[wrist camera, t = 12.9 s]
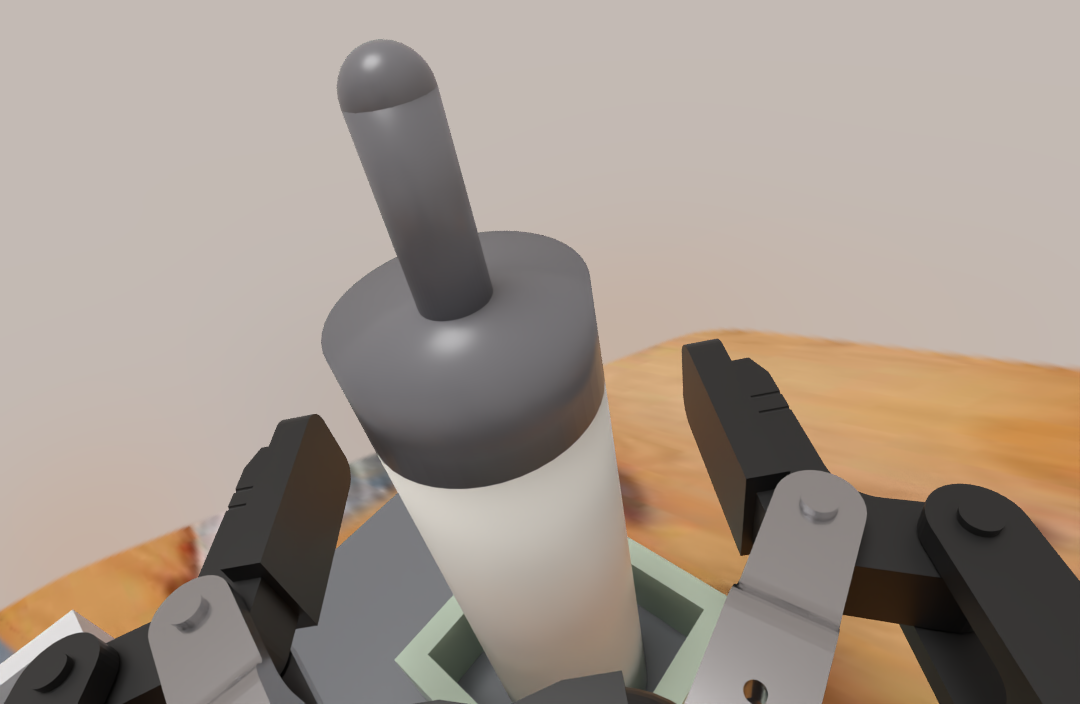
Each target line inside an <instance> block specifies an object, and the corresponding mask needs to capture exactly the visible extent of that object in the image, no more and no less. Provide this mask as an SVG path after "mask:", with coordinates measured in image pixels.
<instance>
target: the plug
mask: <svg viewBox="0 0 1080 704" xmlns="http://www.w3.org/2000/svg"><path fill="white" fill-rule="evenodd" d="M337 94H338V100H339V104H340V107H341V111H342V113H343V116H344V118H345V121H346V124H347V126H348V129H349V132H350V134H351V137H352V139H353V142H354V145H355V147H356V150H357V152H358V155H359V158H360V160H361V163H362V166H363V168H364V171H365V173H366V176H367V179H368V181H369V184H370V186H371V189H372V192H373V194H374V197H375V199H376V202H377V205H378V207H379V210H380V213H381V215H382V218H383V220H384V223H385V226H386V228H387V231H388V233H389V236H390V238H391V241H392V244H393V247H394V249H395V252H396V254H397V257H396V258H394V259H392V260H390V261H388V262H386V263H385V264H383V265H381V266H379V267H378V268H376V269H375V270H373V271H372V272H370V273H369V274H367V275H366V276H364V277H363V278H362V279H361V280H359V281H358V282H357V283H355V284H354V285H353V286H352V287H351V288H350V289H349V290H348V291H347V292H346V293H345V294H344V295H343V296H342V297H341V298H340V299H339V301H338V302H337V303H336V304H335V306H334V307H333V309H332V310H331V312H330V313H329V315H328V318H327V319H326V322H325V324H324V328H323V331H322V340H321V344H322V350H323V354H324V356H325V358H326V361H327V362H328V364H329V366H330V368H331V370H332V372H333V374H334V375H335V377H336V379H337V381H338V383H339V385H340V387H341V388H342V390H343V392H344V394H345V396H346V398H347V399H348V401H349V403H350V405H351V407H352V409H353V410H354V412H355V414H356V416H357V418H358V420H359V422H360V423H361V425H362V427H363V429H364V430H365V433H366V434H367V436H368V438H369V440H370V442H371V444H372V445H373V447H374V449H375V451H376V453H377V455H378V456H379V458H380V460H381V462H382V464H383V466H384V468H385V469H386V471H387V473H388V475H389V477H390V479H391V480H392V482H393V484H394V486H395V488H396V490H397V491H398V493H399V495H400V497H401V499H402V501H403V503H404V504H405V506H406V508H407V510H408V512H409V514H410V515H411V517H412V519H413V521H414V523H415V525H416V526H417V528H418V530H419V532H420V534H421V536H422V537H423V539H424V541H425V543H426V545H427V547H428V549H429V550H430V552H431V554H432V556H433V558H434V560H435V561H436V563H437V565H438V567H439V569H440V571H441V572H442V574H443V576H444V578H445V580H446V582H447V584H448V585H449V587H450V589H451V591H452V593H453V595H454V596H455V598H456V600H457V602H458V604H459V606H460V607H461V609H462V611H463V613H464V615H465V617H466V618H467V620H468V622H469V624H470V626H471V628H472V630H473V631H474V633H475V635H476V637H477V639H478V641H479V642H480V644H481V646H482V648H483V650H484V652H485V653H486V655H487V657H488V659H489V661H490V663H491V665H492V666H493V668H494V670H495V672H496V674H497V676H498V677H499V679H500V681H501V683H502V685H503V687H504V688H505V690H506V692H507V694H508V696H509V698H510V699H511V701H512V703H513V702H516V701H518V700H520V699H522V698H524V697H526V696H528V695H531V694H533V693H535V692H537V691H539V690H541V689H544V688H546V687H548V686H550V685H552V684H554V683H556V682H559V681H561V680H565V679H571V678H578V677H584V676H590V675H596V674H603V673H609V672H615V671H621V670H622V673H623V678H624V682H625V687H629V688H636V689H641V690H645V691H646V685H647V670H646V663H645V656H644V649H643V642H642V635H641V628H640V621H639V614H638V607H637V601H636V594H635V587H634V580H633V573H632V566H631V559H630V552H629V545H628V538H627V531H626V524H625V517H624V510H623V503H622V496H621V489H620V482H619V475H618V468H617V462H616V455H615V448H614V441H613V434H612V427H611V420H610V413H609V406H608V399H607V392H606V385H605V378H604V371H603V364H602V357H601V351H600V343H599V336H598V330H597V323H596V316H595V309H594V302H593V295H592V288H591V281H590V274H589V271H588V268H587V265H586V263H585V262H584V261H583V259H582V258H581V257H580V255H579V254H578V253H577V252H576V251H575V250H573V249H572V248H571V247H569V246H567V245H566V244H564V243H562V242H560V241H558V240H556V239H553V238H550V237H546V236H543V235H539V234H534V233H527V232H519V231H491V232H480V233H478V232H477V228H476V225H475V221H474V217H473V214H472V210H471V206H470V203H469V199H468V195H467V192H466V188H465V184H464V181H463V177H462V173H461V170H460V166H459V162H458V159H457V155H456V152H455V148H454V144H453V140H452V137H451V133H450V129H449V126H448V122H447V119H446V115H445V111H444V108H443V104H442V100H441V97H440V93H439V89H438V85H437V82H436V80H435V77H434V75H433V73H432V71H431V69H430V67H429V66H428V64H427V63H426V61H425V60H424V59H423V58H422V57H421V56H420V55H419V54H418V53H417V52H415V51H414V50H413V49H412V48H410V47H408V46H406V45H404V44H402V43H399V42H396V41H393V40H382V39H378V40H373V41H369V42H366V43H364V44H362V45H360V46H359V47H357V48H355V49H354V50H353V51H352V52H351V53H350V54H349V55H348V56H347V58H346V59H345V61H344V63H343V65H342V66H341V69H340V72H339V75H338V82H337Z"/></svg>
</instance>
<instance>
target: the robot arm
mask: <svg viewBox="0 0 1080 704" xmlns="http://www.w3.org/2000/svg"><path fill="white" fill-rule="evenodd" d="M682 371H683V398H684V405H685V411H686V415H687V419H688V422H689V425H690V427H691V430H692V433H693V435H694V438H695V440H696V443H697V445H698V448H699V451H700V453H701V456H702V458H703V461H704V463H705V466H706V468H707V471H708V474H709V476H710V479H711V481H712V484H713V486H714V489H715V491H716V494H717V497H718V499H719V502H720V504H721V507H722V509H723V512H724V515H725V517H726V520H727V522H728V525H729V527H730V530H731V532H732V535H733V538H734V540H735V543H736V545H737V548H738V550H739V553H740V555H741V556H743V555H749V554H750V555H749V558H748V561H747V563H746V566H745V568H744V571H743V573H742V576H741V578H740V580H739V582H738V583H737V584H734V585H733V586H732V588H731V589H730V591H729V593H728V596H727V598H726V600H725V603H724V605H723V608H722V610H721V613H720V615H719V618H718V620H717V623H716V625H715V628H714V630H713V633H712V636H711V638H710V641H709V643H708V646H707V648H706V651H705V653H704V656H703V658H702V661H701V663H700V666H699V668H698V671H697V674H696V676H695V679H694V681H693V684H692V686H691V689H690V691H689V694H688V696H687V699H686V701H685V704H822V701H823V697H824V693H825V689H826V685H827V681H828V676H829V672H830V668H831V664H832V660H833V656H834V652H835V648H836V644H837V640H838V635H839V630H840V629H839V628H840V623H841V619H842V615H848V616H854V617H860V618H866V619H872V620H879V621H885V622H891V623H897V624H899V625H900V627H901V629H902V631H903V633H904V635H905V637H906V639H907V641H908V643H909V645H910V647H911V649H912V650H913V652H914V654H915V656H916V658H917V660H918V662H919V664H920V666H921V668H922V670H923V672H924V674H925V676H926V678H927V680H928V682H929V684H930V686H931V688H932V690H933V692H934V694H935V696H936V698H937V700H938V702H939V704H1080V581H1079V580H1078V578H1077V577H1076V576H1075V575H1074V573H1073V572H1072V571H1071V570H1070V568H1069V567H1068V566H1067V565H1066V563H1065V562H1064V561H1063V560H1062V558H1061V557H1060V556H1059V555H1058V553H1057V552H1056V551H1055V550H1054V548H1053V547H1052V546H1051V545H1050V543H1049V542H1048V541H1047V540H1046V538H1045V537H1044V536H1043V535H1042V533H1041V532H1040V531H1039V530H1038V528H1037V527H1036V526H1035V525H1034V523H1033V522H1032V521H1031V520H1030V518H1029V517H1028V516H1027V515H1026V514H1025V513H1024V511H1023V510H1022V509H1021V508H1020V507H1018V506H1017V505H1016V504H1015V503H1014V502H1012V501H1011V500H1009V499H1008V498H1006V497H1004V496H1002V495H1000V494H999V493H997V492H994V491H992V490H989V489H986V488H983V487H980V486H975V485H970V484H950V485H945V486H942V487H940V488H938V489H936V490H934V491H933V492H932V493H931V494H930V495H929V496H928V498H927V500H926V502H918V501H908V500H899V499H889V498H881V497H874V496H870V495H867V494H863V493H861V492H858V491H857V490H856V489H855V488H854V487H853V486H852V485H851V484H849V483H848V482H847V481H845V480H844V479H842V478H840V477H838V476H836V475H833V474H831V473H830V472H829V471H828V469H827V468H826V466H825V465H824V463H823V462H822V460H821V458H820V457H819V455H818V453H817V452H816V450H815V448H814V447H813V445H812V443H811V442H810V440H809V438H808V437H807V435H806V433H805V432H804V430H803V428H802V427H801V425H800V423H799V422H798V420H797V419H796V417H795V415H794V414H793V412H792V410H790V409H789V405H788V404H787V402H786V400H785V399H784V397H783V395H782V394H780V390H779V389H778V387H777V385H776V384H775V382H774V380H773V379H772V377H771V375H770V374H769V372H768V371H766V370H765V369H764V368H762V367H761V366H760V365H758V364H757V363H755V362H754V361H753V360H751V359H750V358H744V359H739V360H733V361H731V359H730V357H729V355H728V353H727V351H726V350H725V348H724V346H723V344H722V342H721V341H720V340H719V339H713V340H708V341H702V342H697V343H692V344H687V345H683V347H682ZM350 481H351V475H350V468H349V464H348V461H347V459H346V457H345V455H344V453H343V452H342V450H341V448H340V447H339V445H338V443H337V442H336V440H335V438H334V437H333V435H332V434H331V432H330V430H329V429H328V427H327V425H326V424H325V422H324V420H323V419H322V418H321V417H320V416H319V415H317V414H312V415H307V416H302V417H297V418H291V419H286V420H282V421H281V422H280V423H279V424H278V425H277V428H276V430H275V432H274V435H273V437H272V440H271V443H270V445H269V447H264V448H261V449H260V450H259V451H258V453H257V454H256V455H255V456H254V457H253V459H252V460H251V461H250V462H249V463H248V465H247V466H246V467H245V468H244V470H243V473H242V475H241V478H240V480H239V482H238V485H237V487H236V493H234V494H233V496H232V499H231V501H230V504H229V506H228V507H229V510H228V511H226V513H225V515H224V518H223V520H222V522H221V525H220V527H219V529H218V532H217V534H216V536H215V539H214V541H213V543H212V546H211V548H210V551H209V553H208V555H207V558H206V560H205V562H204V565H203V567H202V569H201V572H200V574H199V576H198V578H195V579H193V580H191V581H189V582H187V583H185V584H184V585H182V586H180V587H179V588H178V589H177V590H175V591H174V592H173V593H172V594H171V595H170V596H169V597H167V599H166V600H165V601H164V602H163V603H162V604H161V606H160V607H159V608H158V610H157V611H156V613H155V615H154V617H153V619H152V621H151V622H150V623H148V624H145V625H143V626H141V627H139V628H137V629H135V630H133V631H131V632H128V633H126V634H124V635H122V636H120V637H118V638H116V639H114V640H111V641H109V642H107V643H105V642H103V641H102V640H101V639H99V638H98V637H96V636H95V635H93V634H91V633H88V632H80V633H75V634H72V635H68V636H66V637H64V638H62V639H60V640H58V641H56V642H55V643H53V644H52V645H50V646H49V647H47V648H46V649H45V650H44V651H42V652H41V653H40V654H39V655H38V656H37V657H36V658H35V659H33V660H32V661H31V663H30V664H29V665H28V666H27V667H26V668H25V669H24V671H23V672H22V673H21V675H20V676H19V678H18V679H17V681H16V683H15V684H14V686H13V688H12V690H11V692H10V693H9V695H8V697H7V699H6V701H5V702H4V704H324V703H323V701H322V699H321V697H320V695H319V693H318V691H317V689H316V688H315V686H314V684H313V682H312V680H311V678H310V676H309V674H308V672H307V670H306V668H305V666H304V664H303V662H302V660H301V658H300V657H299V655H298V653H297V651H296V649H295V648H294V647H293V646H292V642H293V638H294V634H295V630H296V629H300V628H306V627H312V626H318V622H319V618H320V614H321V609H322V605H323V601H324V596H325V592H326V588H327V583H328V579H329V575H330V570H331V566H332V562H333V557H334V553H335V549H336V544H337V540H338V536H339V531H340V527H341V523H342V518H343V514H344V510H345V505H346V501H347V497H348V492H349V488H350ZM415 704H466V703H459V702H452V701H446V700H434V701H427V702H421V703H415ZM511 704H676V703H675V702H673V701H671V700H669V699H667V698H664V697H662V696H660V695H658V694H655V693H652V692H648V691H645V690H641V689H636V688H629V687H625V682H624V678H623V673H622V670H621V671H615V672H609V673H603V674H596V675H590V676H584V677H578V678H571V679H565V680H561V681H559V682H556V683H554V684H552V685H550V686H548V687H546V688H544V689H541V690H539V691H537V692H535V693H533V694H531V695H528V696H526V697H524V698H522V699H520V700H518V701H516V702H513V703H511Z"/></svg>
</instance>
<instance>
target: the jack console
mask: <svg viewBox="0 0 1080 704" xmlns="http://www.w3.org/2000/svg"><path fill="white" fill-rule="evenodd" d="M627 538H628V545H629V552H630V559H631V566H632V573H633V580H634V587H635V594H636V601H637V607H638V614H639V621H640V628H641V635H642V642H643V649H644V656H645V663H646V670H647V685H646V691H648V692H652V693H655V694H658V695H660V696H662V697H664V698H667V699H669V700H671V701H673V702H675V703H676V704H685V701H686V699H687V696H688V694H689V691H690V689H691V686H692V684H693V681H694V679H695V676H696V674H697V671H698V668H699V666H700V663H701V661H702V658H703V656H704V653H705V651H706V648H707V646H708V643H709V641H710V638H711V636H712V633H713V630H714V628H715V625H716V623H717V620H718V618H719V615H720V613H721V610H722V608H723V605H724V603H725V600H726V598H727V596H726V595H724V594H723V593H721V592H719V591H718V590H716V589H714V588H713V587H711V586H709V585H708V584H706V583H704V582H703V581H701V580H699V579H697V578H696V577H694V576H692V575H691V574H689V573H687V572H686V571H684V570H682V569H681V568H679V567H677V566H676V565H674V564H672V563H671V562H669V561H667V560H666V559H664V558H662V557H661V556H659V555H657V554H655V553H654V552H652V551H650V550H649V549H647V548H645V547H644V546H642V545H640V544H639V543H637V542H635V541H634V540H632V539H630V538H629V537H627ZM80 632H88V633H91V634H93V635H95V636H96V637H98V638H99V639H101V640H102V641H103V642H105V643H107V642H109V641H111V640H114V638H113V637H111V636H110V635H109V634H107V633H106V632H104V631H103V630H101V629H100V628H98V627H97V626H96V625H94V624H93V623H91V622H90V621H88V620H87V619H86V618H84V617H83V616H81V615H80V614H78V613H77V612H75V611H74V610H72V611H70V612H69V613H68V614H66V615H65V616H64V617H62V618H61V619H60V620H58V621H57V622H56V623H54V624H53V625H52V626H50V627H49V628H48V629H46V630H45V631H44V632H42V633H41V634H40V635H38V636H37V637H36V638H34V639H33V640H32V641H31V642H29V643H28V644H27V645H25V646H24V647H23V648H21V649H20V650H19V651H17V652H16V653H15V654H13V655H12V656H11V657H9V658H8V659H7V660H5V661H4V662H3V663H1V664H0V704H4V702H5V701H6V699H7V697H8V695H9V693H10V692H11V690H12V688H13V686H14V684H15V683H16V681H17V679H18V678H19V676H20V675H21V673H22V672H23V671H24V669H25V668H26V667H27V666H28V665H29V664H30V663H31V661H32V660H33V659H35V658H36V657H37V656H38V655H39V654H40V653H41V652H42V651H44V650H45V649H46V648H47V647H49V646H50V645H52V644H53V643H55V642H56V641H58V640H60V639H62V638H64V637H66V636H68V635H72V634H75V633H80ZM292 646H293V647H294V648H295V649H296V651H297V653H298V655H299V657H300V658H301V660H302V662H303V664H304V666H305V668H306V670H307V672H308V674H309V676H310V678H311V680H312V682H313V684H314V686H315V688H316V689H317V691H318V693H319V695H320V697H321V699H322V701H323V703H324V704H415V703H421V702H427V701H434V700H446V701H452V702H459V703H466V704H511V703H512V701H511V699H510V698H509V696H508V694H507V692H506V690H505V688H504V687H503V685H502V683H501V681H500V679H499V677H498V676H497V674H496V672H495V670H494V668H493V666H492V665H491V663H490V661H489V659H488V657H487V655H486V653H485V652H484V650H483V648H482V646H481V644H480V642H479V641H478V639H477V637H476V635H475V633H474V631H473V630H472V628H471V626H470V624H469V622H468V620H467V618H466V617H465V615H464V613H463V611H462V609H461V607H460V606H459V604H458V602H457V600H456V598H455V596H454V595H453V593H452V591H451V589H450V587H449V585H448V584H447V582H446V580H445V578H444V576H443V574H442V572H441V571H440V569H439V567H438V565H437V563H436V561H435V560H434V558H433V556H432V554H431V552H430V550H429V549H428V547H427V545H426V543H425V541H424V539H423V537H422V536H421V534H420V532H419V530H418V528H417V526H416V525H415V523H414V521H413V519H412V517H411V515H410V514H409V512H408V510H407V508H406V506H405V504H404V503H403V501H402V499H401V497H400V495H399V493H397V494H396V495H395V496H394V497H393V498H392V499H391V500H390V501H388V502H387V503H386V504H385V505H384V506H383V507H382V508H381V509H380V510H379V511H377V512H376V513H375V514H374V515H373V516H372V517H371V518H370V519H369V520H367V521H366V522H365V523H364V524H363V525H362V526H361V527H360V528H359V529H358V530H356V531H355V532H354V533H353V534H352V535H351V536H350V537H349V538H348V539H347V540H345V541H344V542H343V543H342V544H341V545H340V546H339V547H338V548H337V549H336V550H335V553H334V557H333V562H332V566H331V570H330V575H329V579H328V583H327V588H326V592H325V596H324V601H323V605H322V609H321V614H320V618H319V622H318V626H312V627H306V628H300V629H296V630H295V634H294V638H293V642H292Z"/></svg>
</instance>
